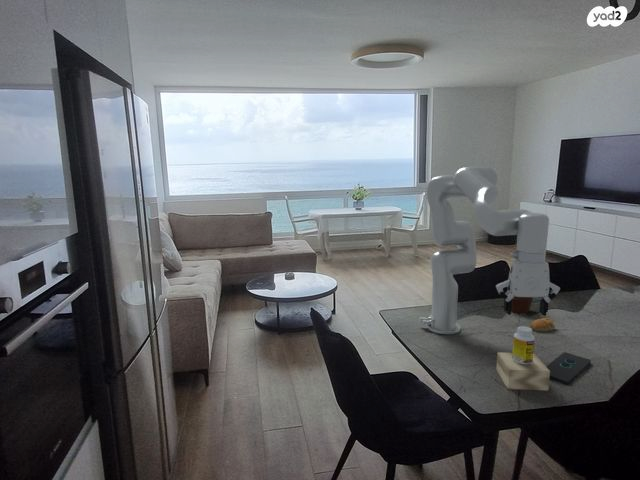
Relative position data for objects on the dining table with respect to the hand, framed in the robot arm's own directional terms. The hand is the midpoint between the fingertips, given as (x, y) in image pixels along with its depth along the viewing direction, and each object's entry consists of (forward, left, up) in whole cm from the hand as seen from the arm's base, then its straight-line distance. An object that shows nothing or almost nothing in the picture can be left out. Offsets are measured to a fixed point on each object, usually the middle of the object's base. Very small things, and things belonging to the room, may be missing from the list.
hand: (525, 313), depth 119 cm
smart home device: (+16, +7, -22) cm, 28 cm away
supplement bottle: (0, 0, -15) cm, 15 cm away
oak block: (0, 0, -21) cm, 21 cm away
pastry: (+22, +40, -21) cm, 51 cm away
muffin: (+20, +61, -21) cm, 67 cm away
